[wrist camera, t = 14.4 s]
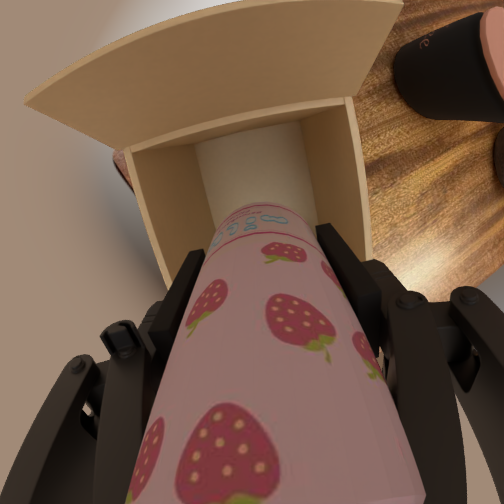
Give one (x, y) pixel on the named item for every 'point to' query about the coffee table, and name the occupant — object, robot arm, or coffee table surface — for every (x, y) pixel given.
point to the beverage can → (272, 384)
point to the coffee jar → (456, 70)
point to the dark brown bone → (499, 156)
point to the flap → (218, 66)
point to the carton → (252, 176)
